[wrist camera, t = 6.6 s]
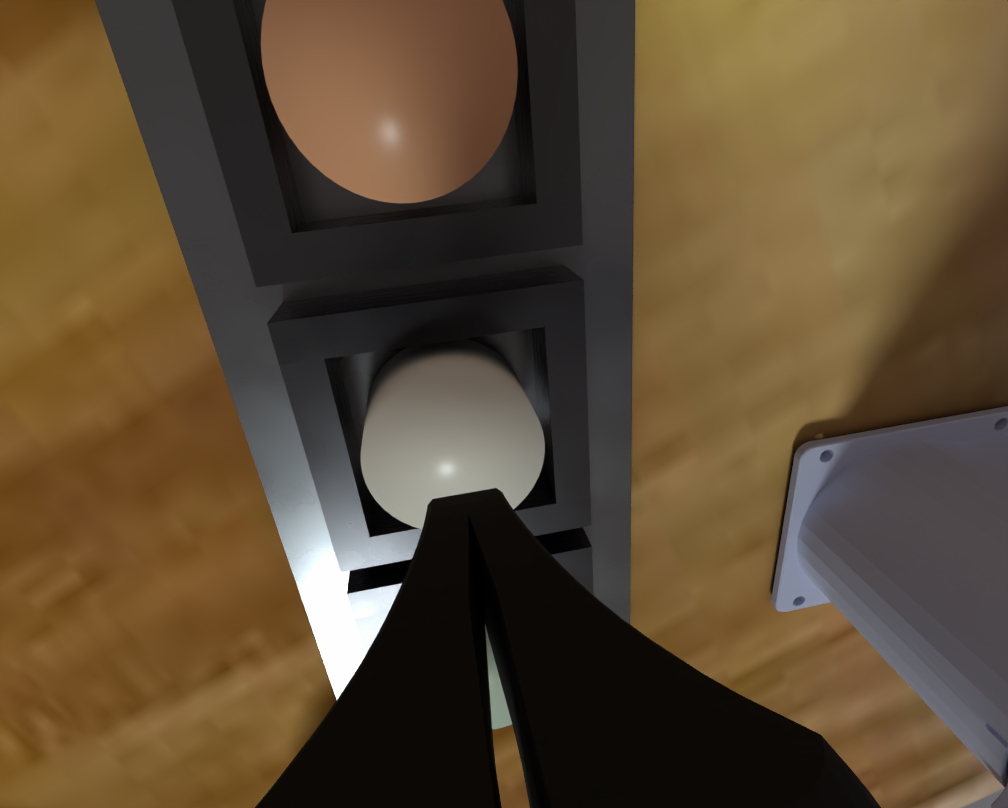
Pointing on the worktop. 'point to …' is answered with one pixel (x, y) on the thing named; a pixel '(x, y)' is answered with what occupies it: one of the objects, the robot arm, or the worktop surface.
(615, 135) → the tray
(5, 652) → the worktop surface
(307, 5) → the button terracotta
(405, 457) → the button cream
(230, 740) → the worktop surface
